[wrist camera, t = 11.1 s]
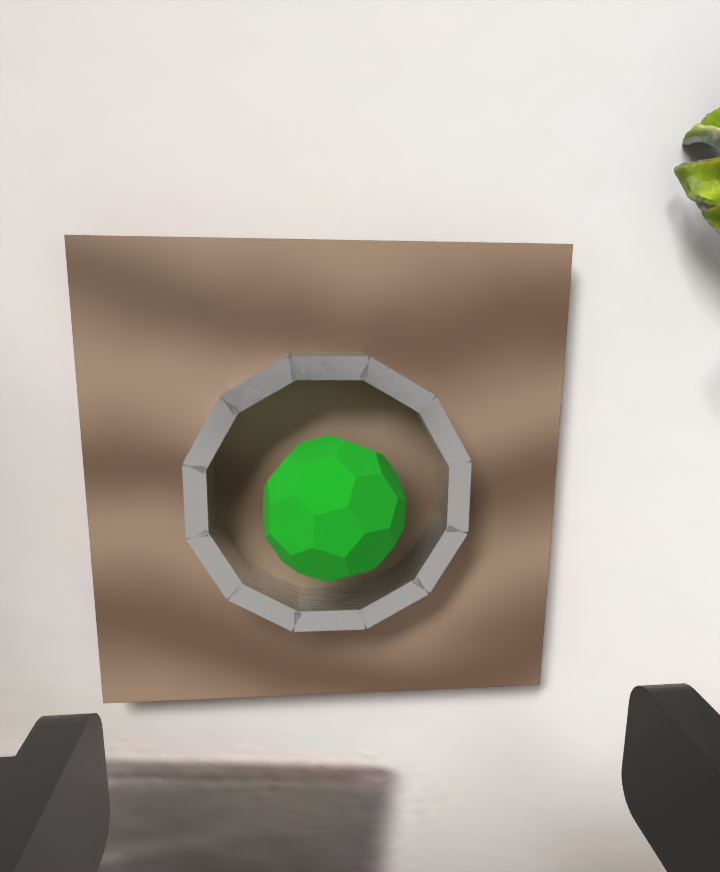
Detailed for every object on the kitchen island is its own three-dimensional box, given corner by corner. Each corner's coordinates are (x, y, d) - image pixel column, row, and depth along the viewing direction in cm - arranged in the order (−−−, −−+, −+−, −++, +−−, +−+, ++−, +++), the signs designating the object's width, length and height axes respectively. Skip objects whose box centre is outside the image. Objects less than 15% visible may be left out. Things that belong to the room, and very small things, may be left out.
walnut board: (79, 239, 23) (64, 234, 22) (557, 247, 25) (573, 243, 23) (113, 681, 27) (103, 703, 26) (527, 665, 29) (539, 684, 27)
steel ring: (187, 351, 23) (176, 356, 21) (462, 352, 24) (476, 356, 22) (199, 609, 25) (190, 635, 23) (451, 601, 26) (463, 626, 24)
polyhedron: (414, 451, 25) (440, 487, 20) (367, 565, 25) (381, 624, 21) (291, 406, 24) (288, 432, 19) (247, 524, 25) (234, 576, 20)
